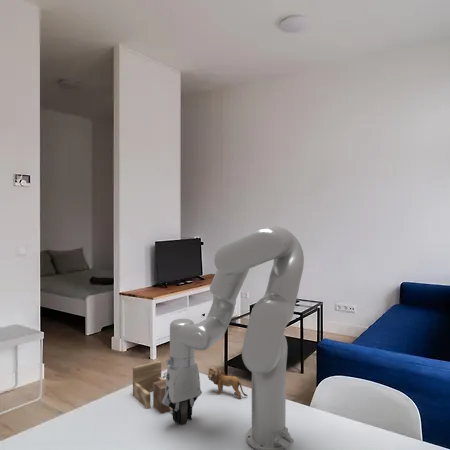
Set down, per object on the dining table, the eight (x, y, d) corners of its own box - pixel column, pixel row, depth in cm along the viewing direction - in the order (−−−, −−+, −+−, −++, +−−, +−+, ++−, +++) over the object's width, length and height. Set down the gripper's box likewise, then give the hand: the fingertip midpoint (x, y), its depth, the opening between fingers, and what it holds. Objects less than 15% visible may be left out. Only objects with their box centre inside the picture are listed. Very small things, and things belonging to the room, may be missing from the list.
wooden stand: (175, 400, 138) (175, 371, 137) (147, 408, 132) (146, 378, 131) (159, 387, 147) (159, 360, 147) (132, 395, 141) (132, 366, 141)
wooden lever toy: (193, 421, 123) (193, 395, 123) (176, 427, 120) (176, 400, 120) (169, 401, 136) (169, 378, 136) (153, 406, 133) (153, 382, 133)
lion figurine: (205, 394, 142) (205, 369, 142) (211, 388, 147) (211, 364, 147) (245, 400, 137) (245, 374, 137) (249, 394, 142) (249, 369, 142)
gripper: (163, 370, 115) (163, 434, 115) (211, 358, 124) (211, 417, 124) (152, 362, 121) (152, 423, 121) (199, 351, 130) (199, 407, 131)
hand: (182, 419), depth 123 cm, fingers closed on wooden lever toy, 3 cm apart
